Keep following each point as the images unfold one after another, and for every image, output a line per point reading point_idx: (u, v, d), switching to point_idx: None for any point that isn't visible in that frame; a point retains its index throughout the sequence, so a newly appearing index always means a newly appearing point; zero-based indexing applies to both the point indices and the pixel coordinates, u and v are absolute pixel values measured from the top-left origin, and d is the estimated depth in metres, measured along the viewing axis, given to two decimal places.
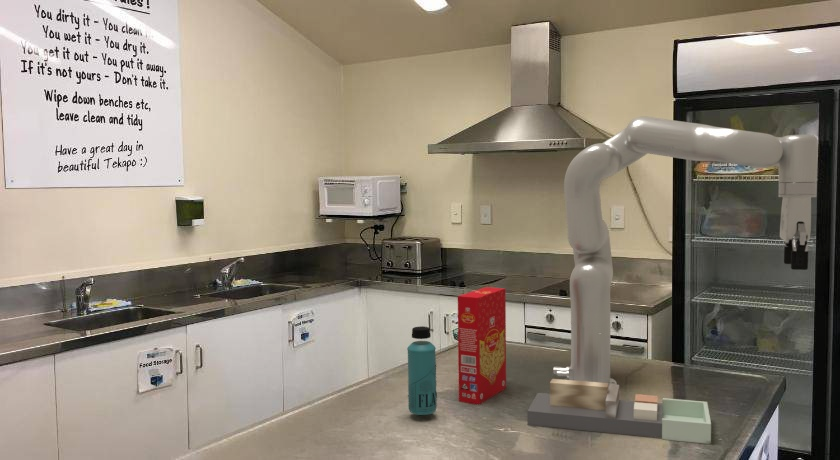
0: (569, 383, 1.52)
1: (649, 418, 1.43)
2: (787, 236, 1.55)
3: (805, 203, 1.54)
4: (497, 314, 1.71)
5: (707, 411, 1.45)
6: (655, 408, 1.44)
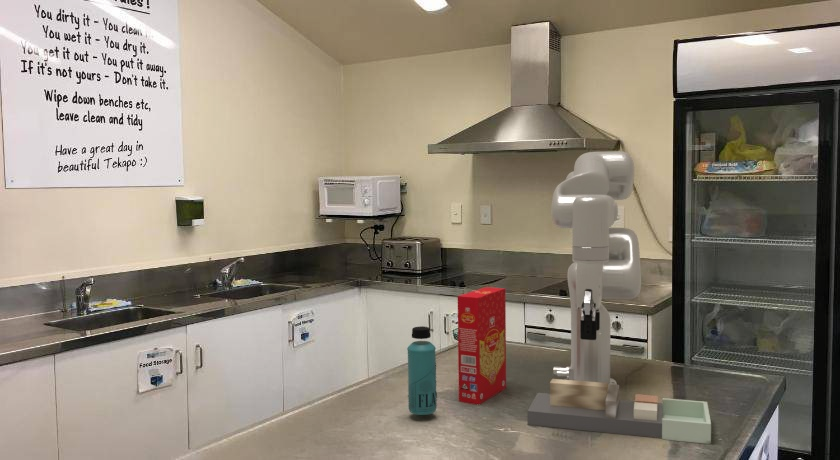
0: (569, 383, 1.52)
1: (649, 418, 1.43)
2: (576, 304, 1.47)
3: (593, 269, 1.45)
4: (497, 314, 1.71)
5: (707, 411, 1.45)
6: (655, 408, 1.44)
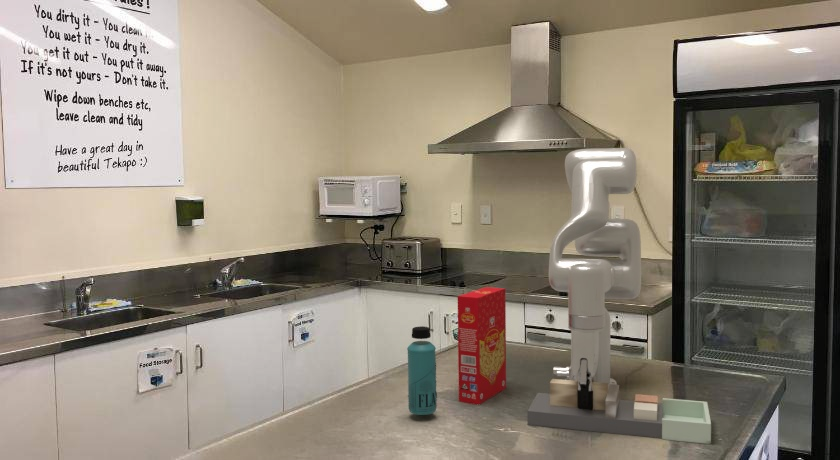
0: (569, 383, 1.52)
1: (649, 418, 1.43)
2: (571, 372, 1.48)
3: (588, 339, 1.46)
4: (497, 314, 1.71)
5: (707, 411, 1.45)
6: (655, 408, 1.44)
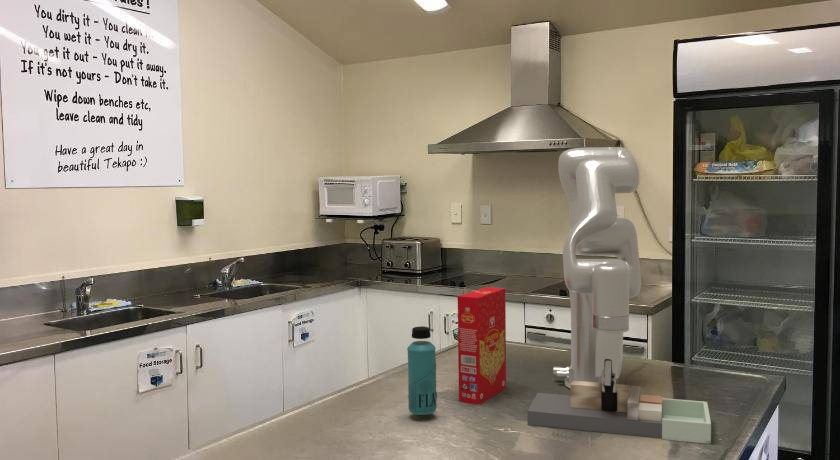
0: (590, 385, 1.51)
1: (653, 419, 1.43)
2: (595, 373, 1.46)
3: (613, 339, 1.45)
4: (497, 314, 1.71)
5: (707, 411, 1.45)
6: (660, 409, 1.44)
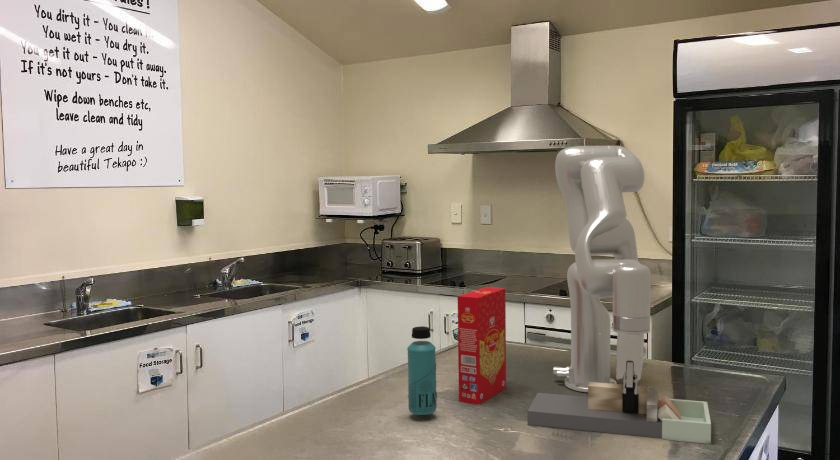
0: (608, 386, 1.49)
1: None
2: (617, 375, 1.45)
3: (634, 341, 1.43)
4: (497, 314, 1.71)
5: (707, 411, 1.45)
6: None
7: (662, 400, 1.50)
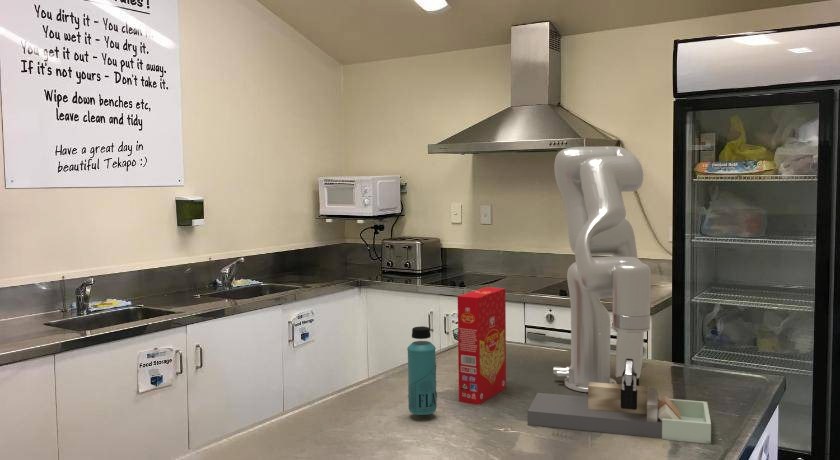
0: (608, 386, 1.49)
1: None
2: (616, 373, 1.45)
3: (634, 339, 1.44)
4: (497, 314, 1.71)
5: (707, 411, 1.45)
6: None
7: (662, 400, 1.50)
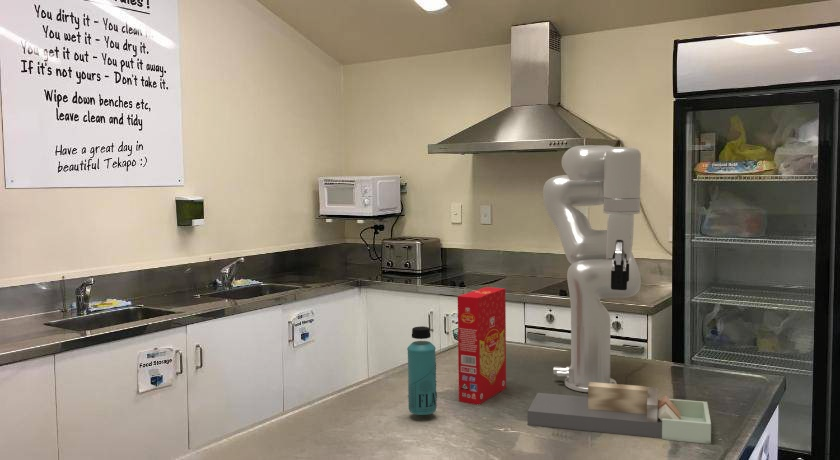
0: (608, 386, 1.49)
1: None
2: (607, 255, 1.48)
3: (624, 220, 1.46)
4: (497, 314, 1.71)
5: (707, 411, 1.45)
6: None
7: (662, 400, 1.50)
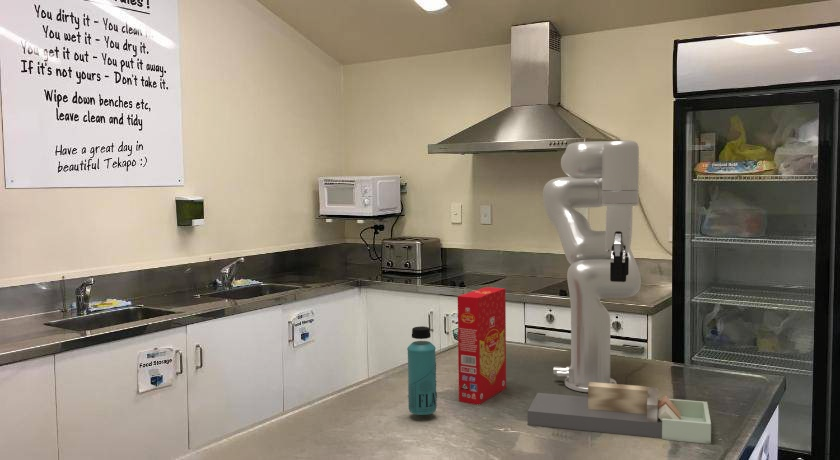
0: (608, 386, 1.49)
1: None
2: (606, 247, 1.48)
3: (623, 212, 1.47)
4: (497, 314, 1.71)
5: (707, 411, 1.45)
6: None
7: (662, 400, 1.50)
